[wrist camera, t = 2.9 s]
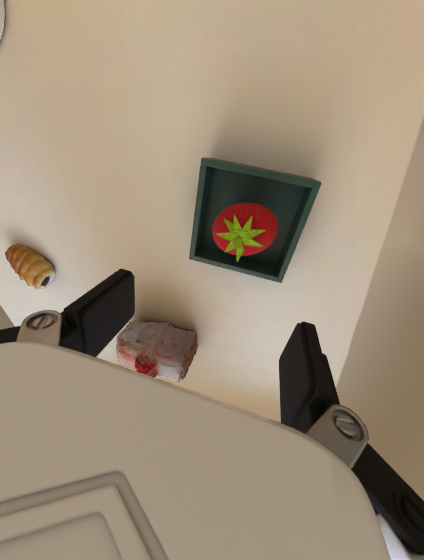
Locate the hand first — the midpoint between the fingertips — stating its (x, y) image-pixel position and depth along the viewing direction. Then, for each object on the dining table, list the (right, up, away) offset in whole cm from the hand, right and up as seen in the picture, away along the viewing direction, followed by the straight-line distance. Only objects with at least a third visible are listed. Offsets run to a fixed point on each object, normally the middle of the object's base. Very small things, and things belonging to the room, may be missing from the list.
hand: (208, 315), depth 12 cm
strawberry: (+5, +10, +17) cm, 21 cm away
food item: (-9, -9, +33) cm, 35 cm away
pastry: (-35, +5, +32) cm, 47 cm away
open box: (+5, +11, +18) cm, 21 cm away
